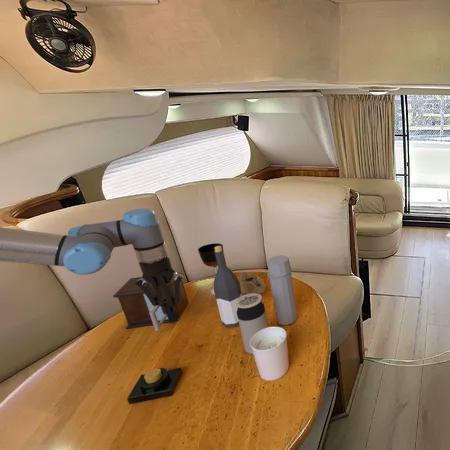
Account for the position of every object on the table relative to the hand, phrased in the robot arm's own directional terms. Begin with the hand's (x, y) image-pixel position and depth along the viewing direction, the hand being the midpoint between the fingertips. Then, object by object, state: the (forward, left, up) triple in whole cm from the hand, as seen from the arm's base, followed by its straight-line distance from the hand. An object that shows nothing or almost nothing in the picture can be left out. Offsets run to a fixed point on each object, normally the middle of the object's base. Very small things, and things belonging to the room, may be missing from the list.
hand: (173, 320), depth 105 cm
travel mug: (+27, -13, -6) cm, 31 cm away
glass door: (-7, +4, -5) cm, 10 cm away
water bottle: (+35, -1, -6) cm, 36 cm away
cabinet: (-11, +15, -6) cm, 19 cm away
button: (+2, -23, -3) cm, 23 cm away
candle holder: (+33, -25, -6) cm, 42 cm away
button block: (+2, -23, -6) cm, 24 cm away
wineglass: (+7, +27, -6) cm, 29 cm away
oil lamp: (+21, +21, -6) cm, 31 cm away
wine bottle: (+17, +3, -6) cm, 19 cm away
